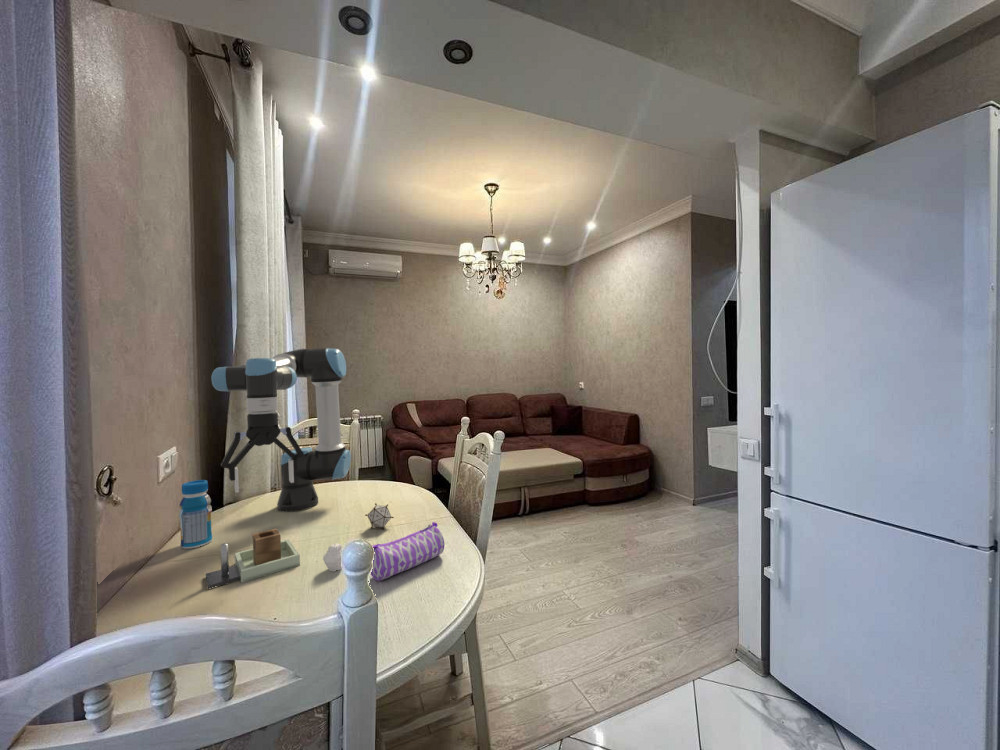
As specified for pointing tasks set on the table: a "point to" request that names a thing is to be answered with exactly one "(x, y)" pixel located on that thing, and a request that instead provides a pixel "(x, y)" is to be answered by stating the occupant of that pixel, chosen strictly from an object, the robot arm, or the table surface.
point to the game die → (379, 516)
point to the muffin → (333, 557)
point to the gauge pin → (223, 571)
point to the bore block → (266, 546)
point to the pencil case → (407, 552)
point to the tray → (252, 572)
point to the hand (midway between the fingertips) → (265, 486)
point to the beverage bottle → (195, 515)
